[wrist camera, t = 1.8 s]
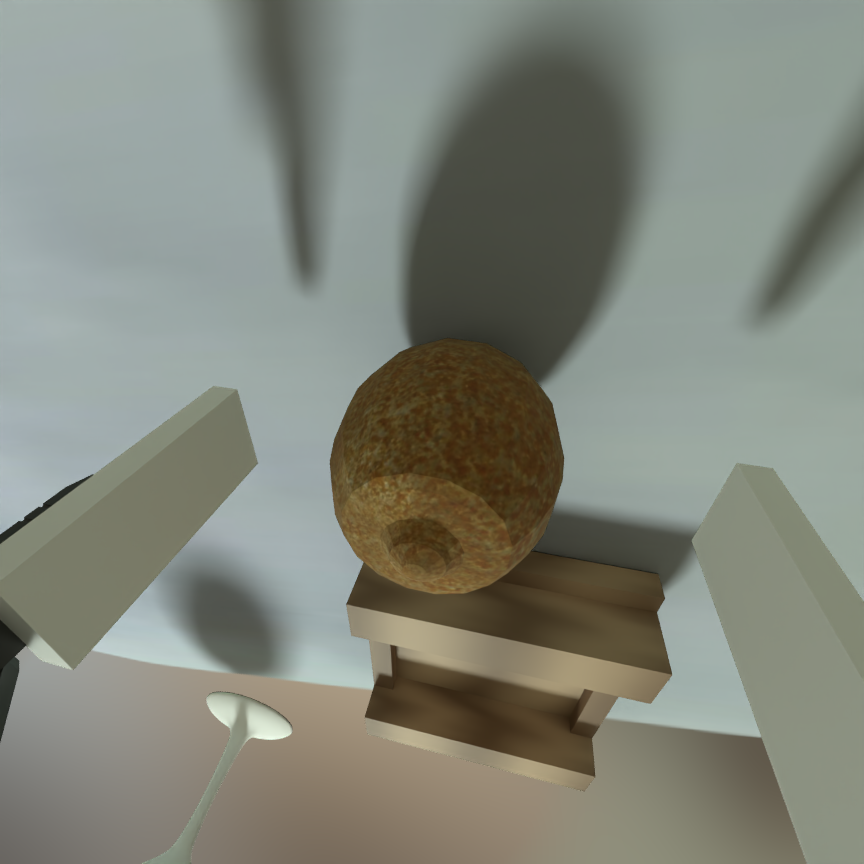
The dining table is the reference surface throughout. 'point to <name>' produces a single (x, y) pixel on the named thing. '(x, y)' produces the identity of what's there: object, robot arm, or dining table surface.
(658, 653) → the cradle
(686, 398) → the dining table surface
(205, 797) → the wineglass
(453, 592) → the fruit
